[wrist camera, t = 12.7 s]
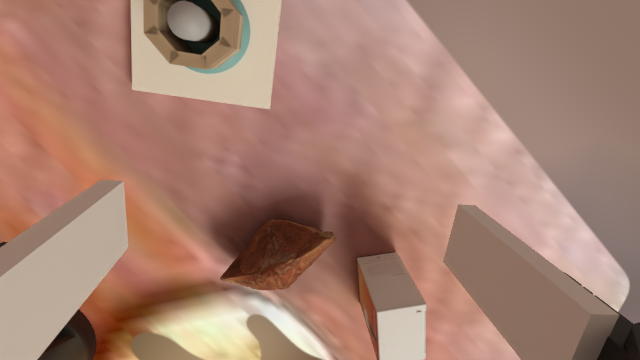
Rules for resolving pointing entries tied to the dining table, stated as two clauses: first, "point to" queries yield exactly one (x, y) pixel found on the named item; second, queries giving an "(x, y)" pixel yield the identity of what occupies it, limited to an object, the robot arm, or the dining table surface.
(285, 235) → the fossil
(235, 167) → the dining table surface
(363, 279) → the small box
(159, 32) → the maple ring
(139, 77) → the post stand
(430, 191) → the dining table surface
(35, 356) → the robot arm
